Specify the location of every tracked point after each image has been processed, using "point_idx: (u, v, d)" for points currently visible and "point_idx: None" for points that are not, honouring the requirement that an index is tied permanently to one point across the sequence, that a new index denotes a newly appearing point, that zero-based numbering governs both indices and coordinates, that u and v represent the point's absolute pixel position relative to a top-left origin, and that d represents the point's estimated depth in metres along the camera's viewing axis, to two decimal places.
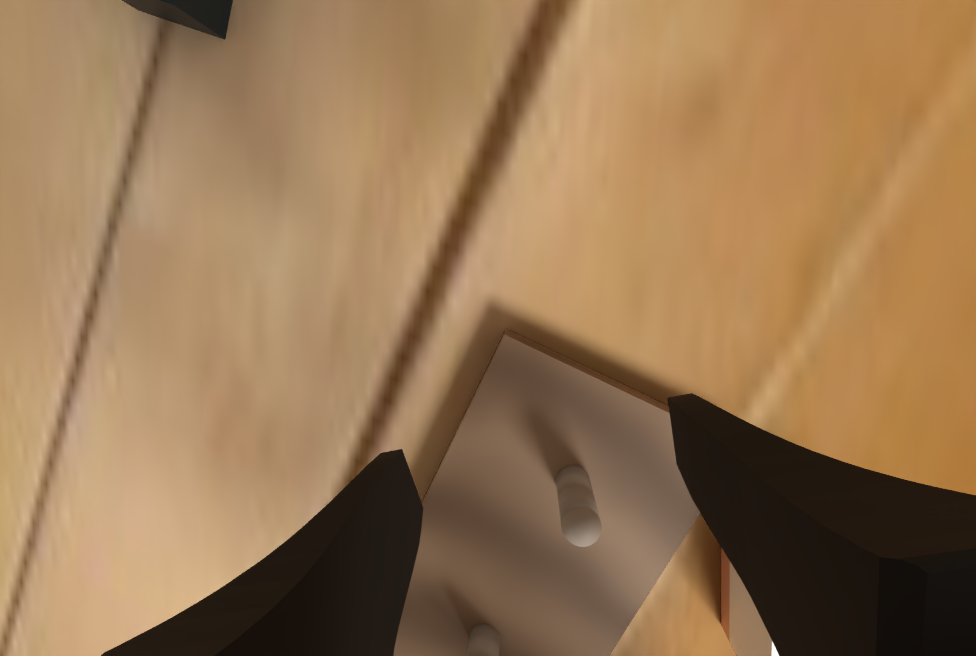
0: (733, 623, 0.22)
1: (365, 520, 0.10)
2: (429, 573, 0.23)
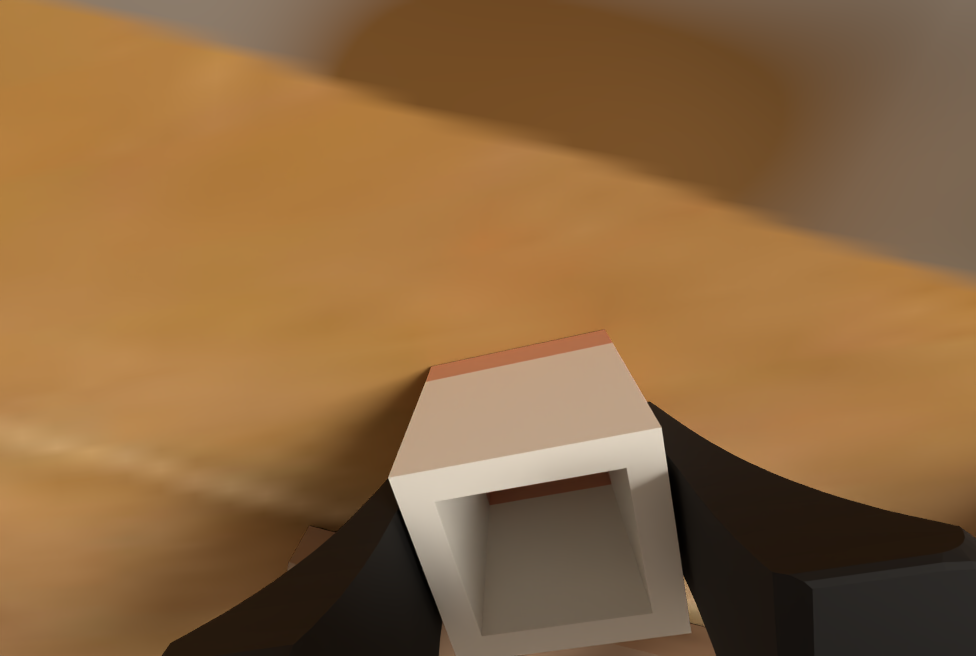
0: None
1: None
2: None
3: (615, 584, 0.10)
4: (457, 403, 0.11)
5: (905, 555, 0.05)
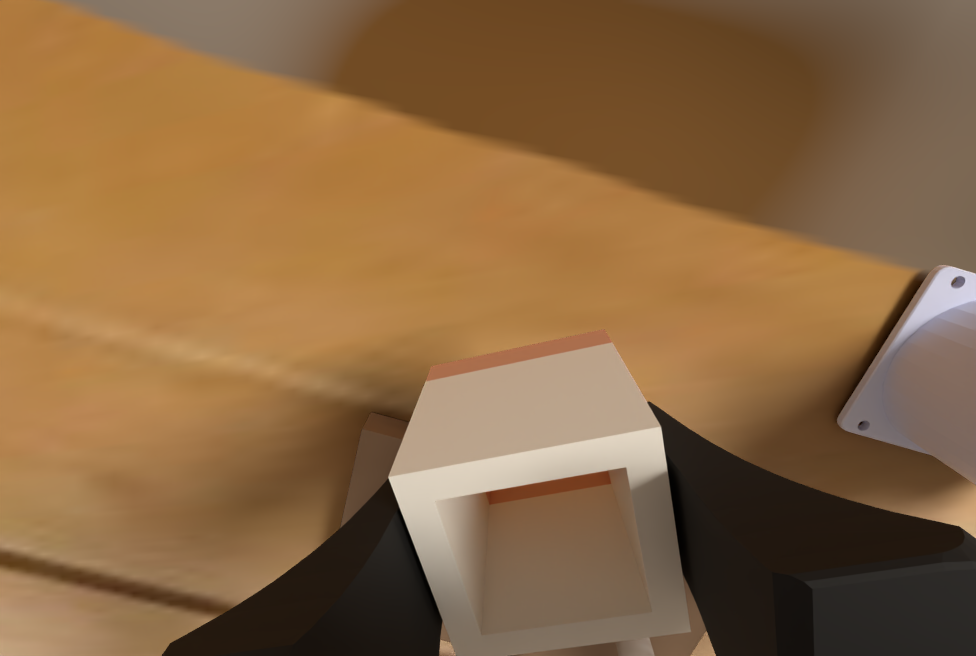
0: None
1: None
2: None
3: (615, 583, 0.10)
4: (457, 402, 0.11)
5: (904, 556, 0.05)
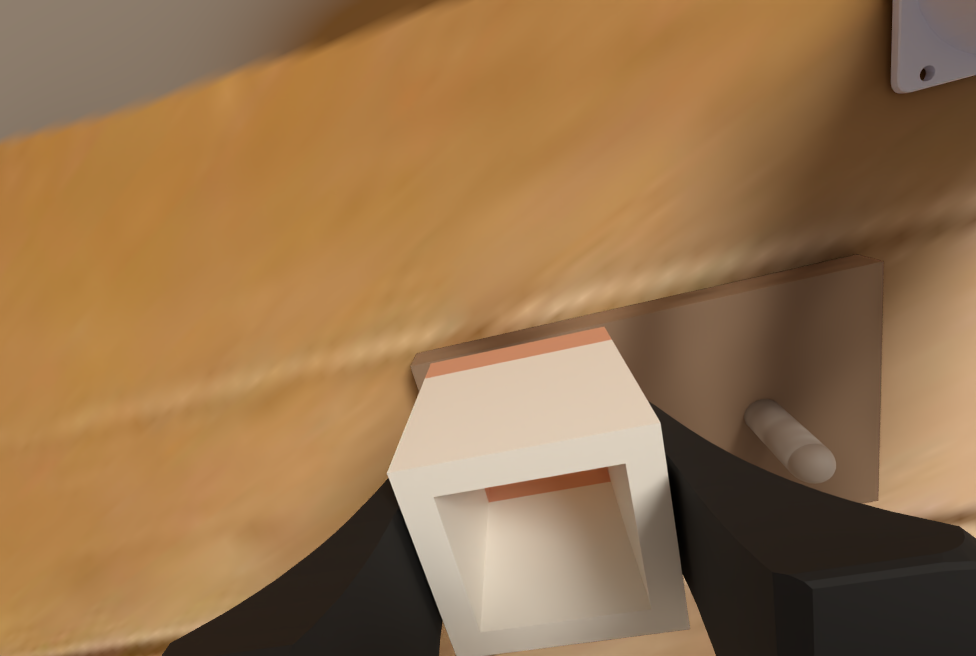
0: None
1: None
2: None
3: (614, 580, 0.10)
4: (456, 399, 0.11)
5: (905, 556, 0.05)
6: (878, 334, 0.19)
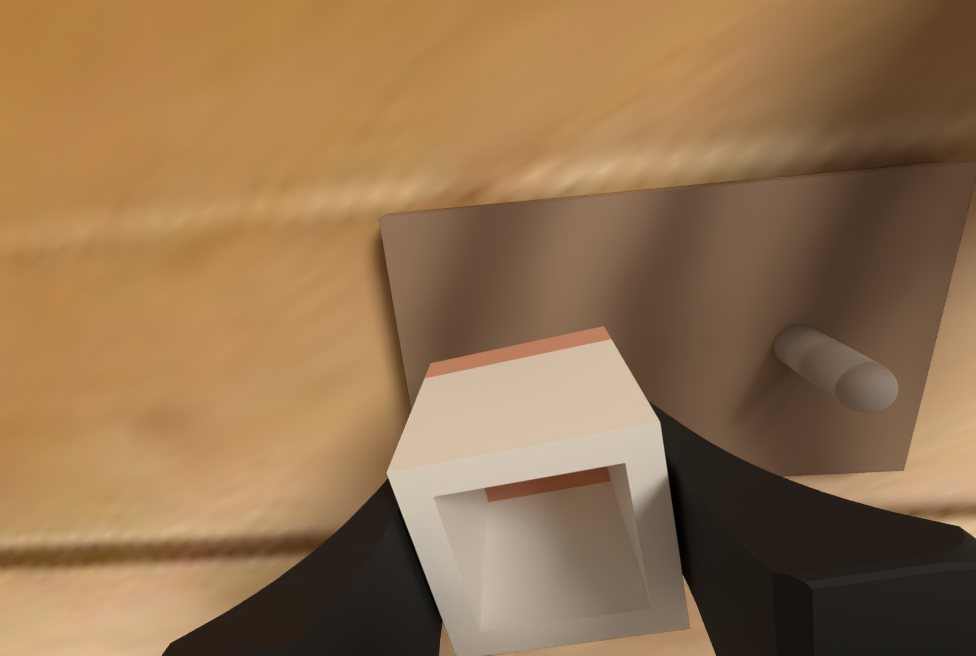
0: None
1: None
2: (730, 440, 0.19)
3: (614, 580, 0.10)
4: (456, 399, 0.11)
5: (906, 557, 0.05)
6: (951, 259, 0.16)
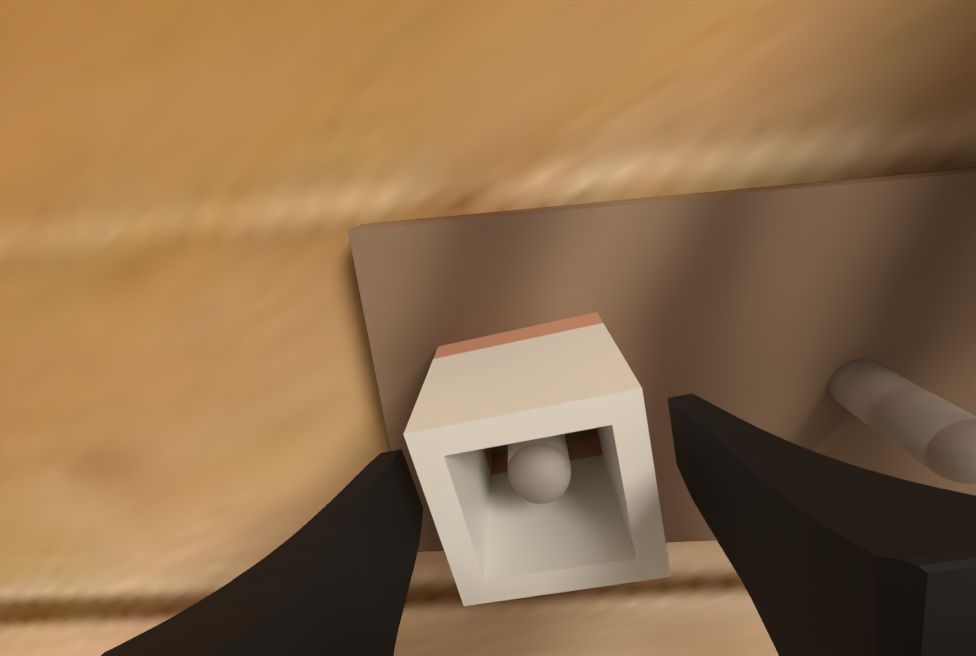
0: None
1: (365, 519, 0.10)
2: None
3: (604, 536, 0.11)
4: (463, 375, 0.12)
5: None
6: None
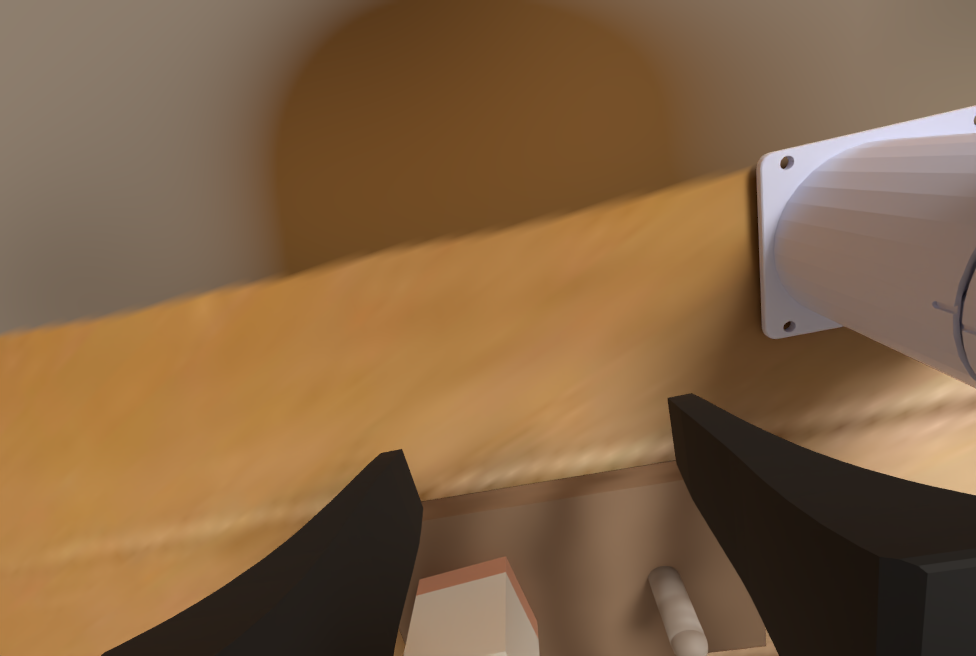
0: None
1: (365, 519, 0.10)
2: (634, 637, 0.26)
3: None
4: (429, 619, 0.22)
5: None
6: None
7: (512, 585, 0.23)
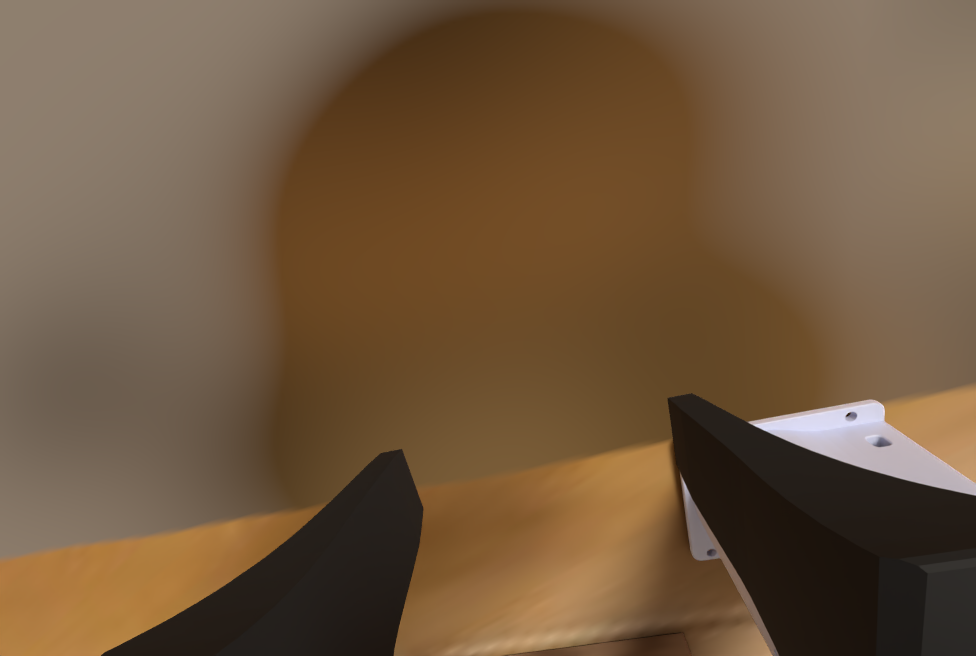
0: None
1: (365, 519, 0.10)
2: None
3: None
4: None
5: None
6: None
7: None
